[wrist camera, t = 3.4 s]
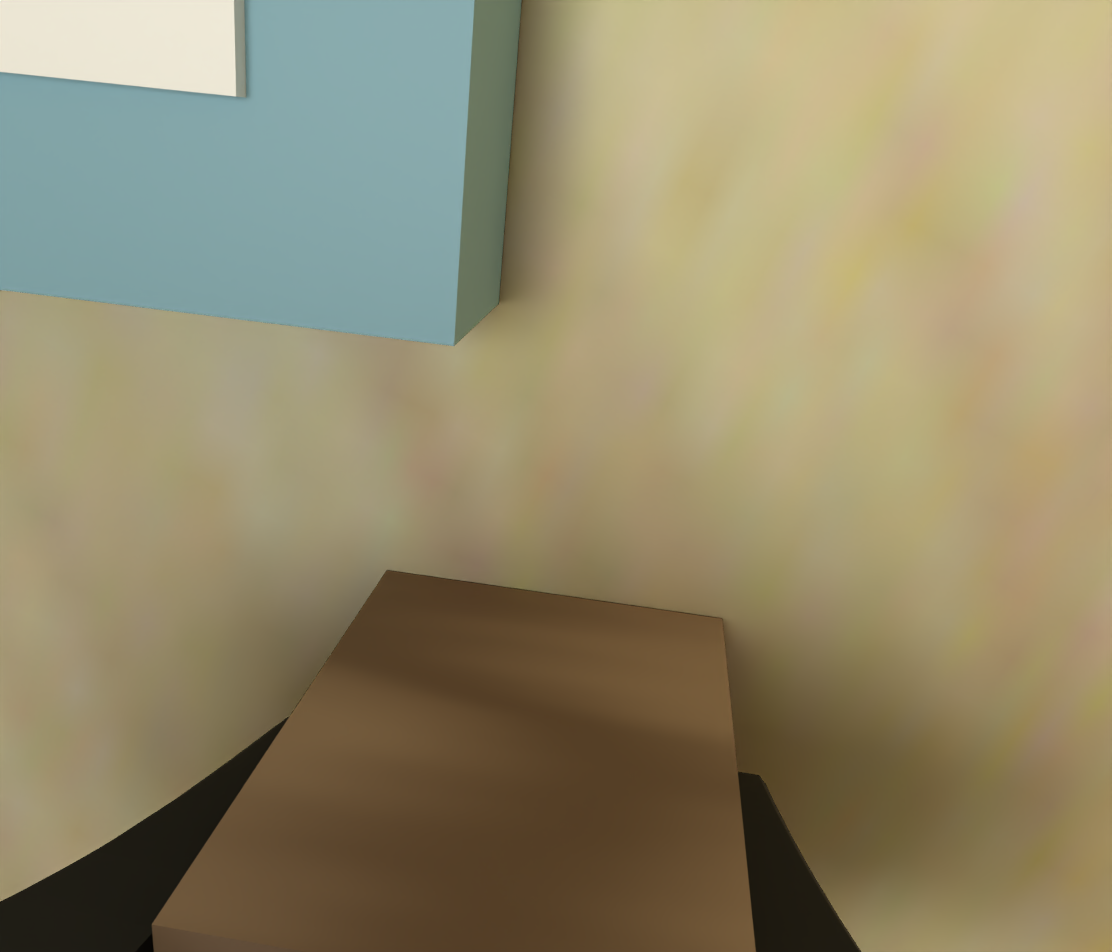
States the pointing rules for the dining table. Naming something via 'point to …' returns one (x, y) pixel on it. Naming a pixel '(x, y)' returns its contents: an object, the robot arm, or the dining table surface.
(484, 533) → the dining table surface
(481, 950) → the walnut block
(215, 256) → the teal base
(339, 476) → the dining table surface
